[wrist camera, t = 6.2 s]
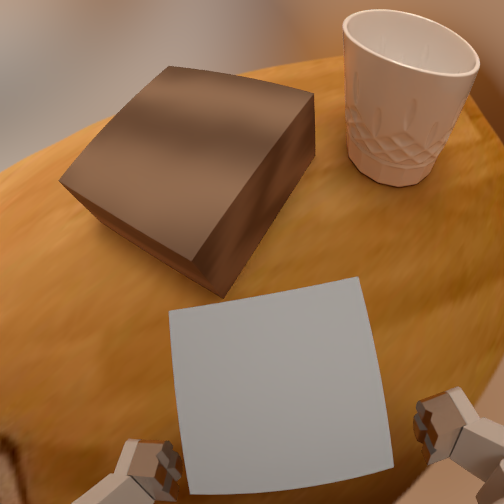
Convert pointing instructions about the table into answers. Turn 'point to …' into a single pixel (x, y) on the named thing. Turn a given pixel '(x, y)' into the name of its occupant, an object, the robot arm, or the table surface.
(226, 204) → the walnut box
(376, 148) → the white cup
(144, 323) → the table surface
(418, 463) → the table surface
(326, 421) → the slate block
